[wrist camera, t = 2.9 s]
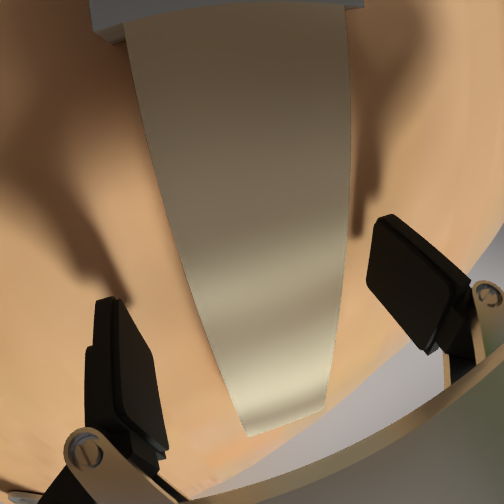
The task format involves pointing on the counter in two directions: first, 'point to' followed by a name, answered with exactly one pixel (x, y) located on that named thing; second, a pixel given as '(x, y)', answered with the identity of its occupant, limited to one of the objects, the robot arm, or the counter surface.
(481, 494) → the robot arm
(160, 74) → the wooden handle with ferrule
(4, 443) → the counter surface
